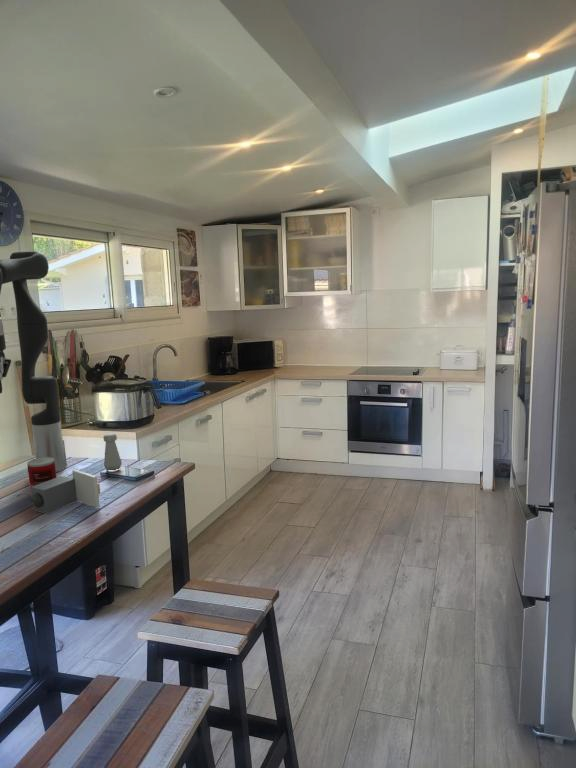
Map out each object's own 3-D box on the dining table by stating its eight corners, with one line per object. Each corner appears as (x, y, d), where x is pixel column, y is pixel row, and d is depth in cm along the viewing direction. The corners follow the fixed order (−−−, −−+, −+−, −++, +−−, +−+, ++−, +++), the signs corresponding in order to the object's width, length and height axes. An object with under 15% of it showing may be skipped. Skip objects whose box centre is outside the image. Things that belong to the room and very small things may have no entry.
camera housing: (66, 496, 170) (63, 467, 168) (80, 499, 167) (76, 470, 165) (31, 511, 160) (27, 480, 158) (44, 514, 157) (40, 483, 155)
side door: (77, 500, 165) (73, 471, 164) (82, 498, 167) (79, 469, 165) (96, 508, 159) (93, 477, 158) (102, 505, 161) (99, 475, 159)
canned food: (47, 488, 177) (43, 455, 176) (64, 492, 173) (60, 458, 171) (25, 497, 171) (21, 462, 169) (42, 501, 167) (37, 466, 165)
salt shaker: (125, 469, 194) (122, 432, 192) (112, 474, 189) (108, 437, 187) (114, 466, 197) (110, 431, 195) (101, 471, 192) (97, 435, 190)
